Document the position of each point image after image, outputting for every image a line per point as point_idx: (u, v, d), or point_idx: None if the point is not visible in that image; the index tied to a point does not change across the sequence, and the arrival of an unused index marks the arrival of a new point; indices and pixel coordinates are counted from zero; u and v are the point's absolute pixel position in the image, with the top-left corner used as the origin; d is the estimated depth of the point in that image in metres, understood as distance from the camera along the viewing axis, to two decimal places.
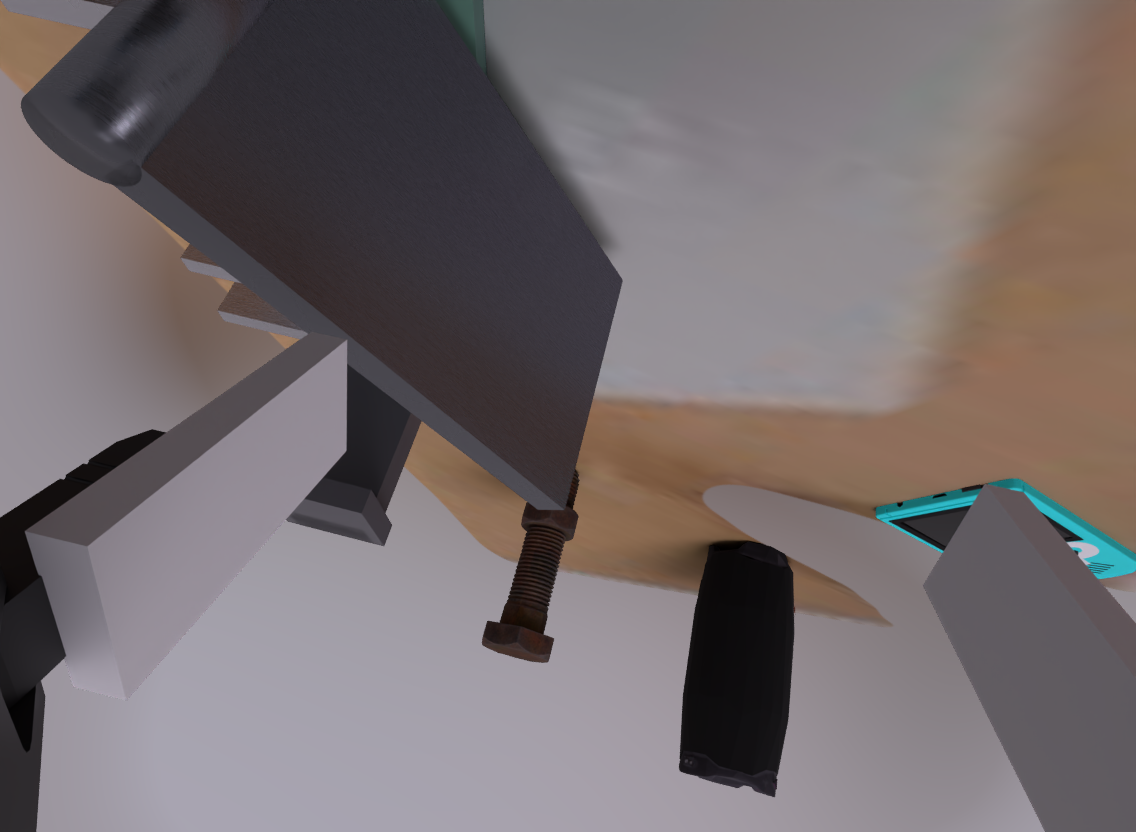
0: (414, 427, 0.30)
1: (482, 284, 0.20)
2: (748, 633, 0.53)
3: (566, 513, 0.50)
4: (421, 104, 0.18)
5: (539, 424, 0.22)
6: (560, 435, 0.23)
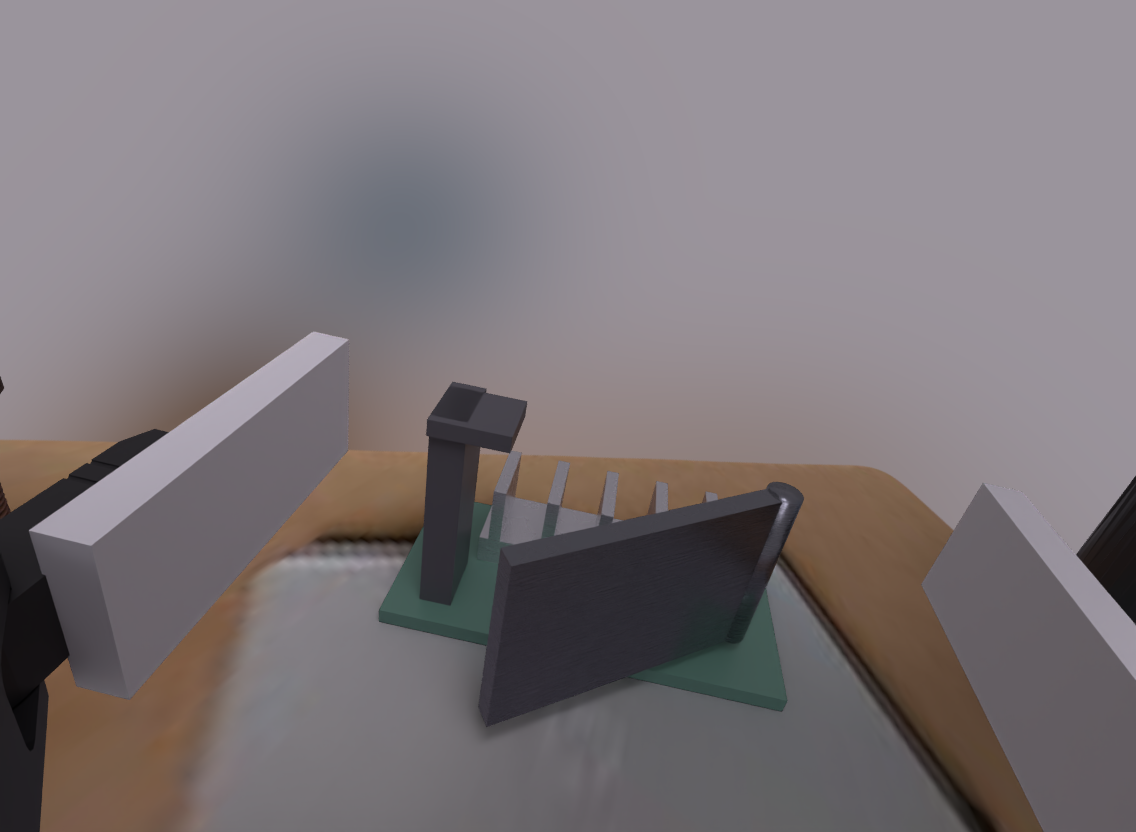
0: (436, 502, 0.36)
1: (631, 601, 0.32)
2: None
3: None
4: (686, 619, 0.36)
5: (560, 586, 0.29)
6: (533, 597, 0.28)
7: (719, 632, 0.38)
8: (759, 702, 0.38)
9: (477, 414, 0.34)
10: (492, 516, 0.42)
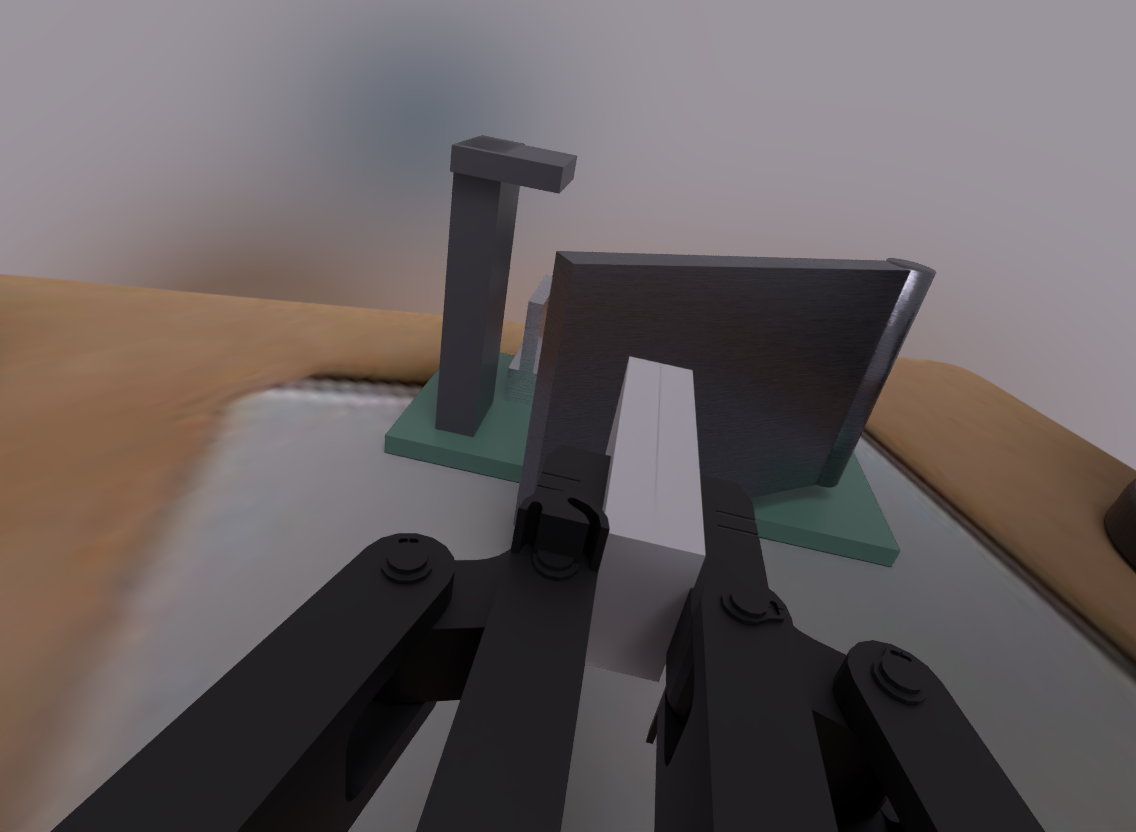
0: (460, 281, 0.28)
1: (718, 381, 0.24)
2: None
3: None
4: (778, 434, 0.28)
5: (633, 325, 0.21)
6: (599, 333, 0.21)
7: (811, 468, 0.31)
8: (863, 554, 0.30)
9: (516, 152, 0.26)
10: (525, 337, 0.34)
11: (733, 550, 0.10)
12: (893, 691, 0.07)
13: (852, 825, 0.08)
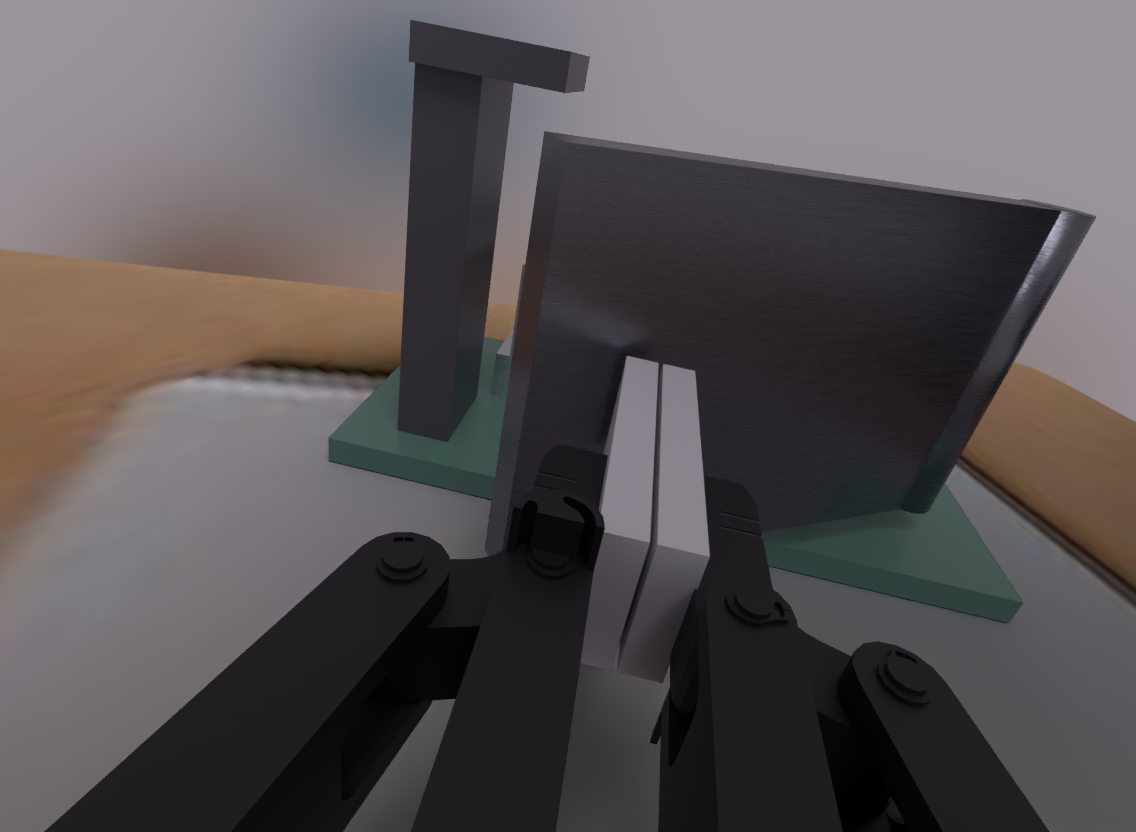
0: (427, 227, 0.20)
1: (783, 356, 0.17)
2: None
3: None
4: (857, 438, 0.20)
5: (661, 257, 0.14)
6: (608, 266, 0.13)
7: (897, 487, 0.23)
8: (971, 606, 0.22)
9: None
10: None
11: (736, 552, 0.10)
12: (899, 692, 0.07)
13: (857, 826, 0.08)
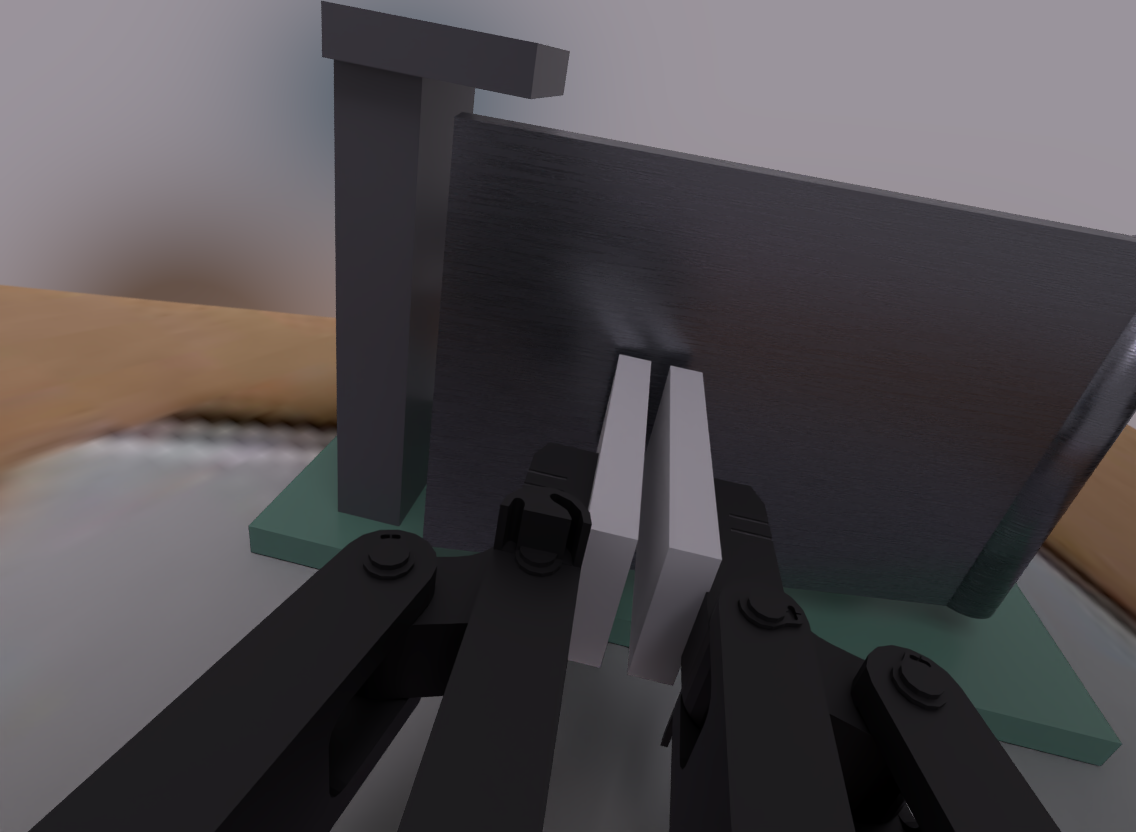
0: (361, 271, 0.16)
1: (739, 376, 0.15)
2: None
3: None
4: (863, 498, 0.17)
5: (570, 243, 0.14)
6: (510, 246, 0.14)
7: (937, 575, 0.19)
8: (1053, 745, 0.18)
9: None
10: None
11: (747, 554, 0.10)
12: (912, 695, 0.07)
13: (869, 830, 0.08)
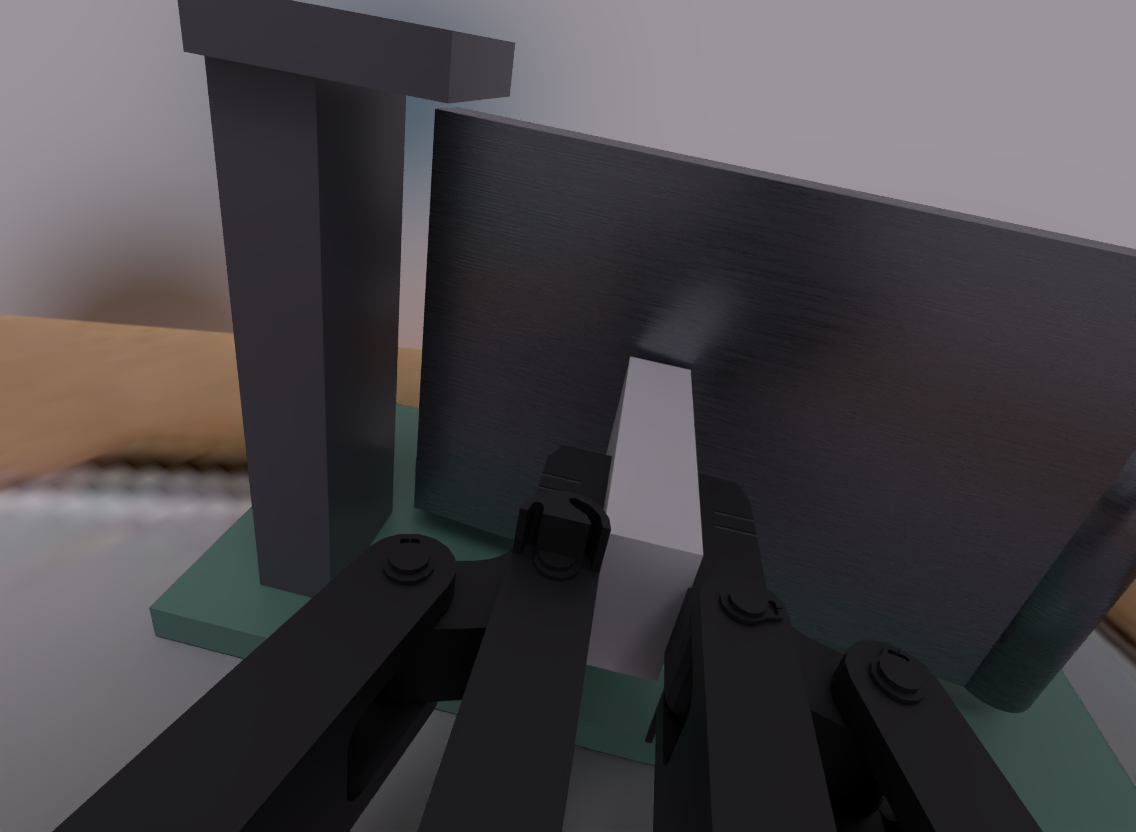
0: (261, 314, 0.13)
1: (706, 380, 0.15)
2: None
3: None
4: (852, 536, 0.15)
5: (537, 231, 0.14)
6: (484, 229, 0.15)
7: (949, 646, 0.16)
8: None
9: None
10: None
11: (731, 550, 0.10)
12: (891, 691, 0.07)
13: (850, 825, 0.08)
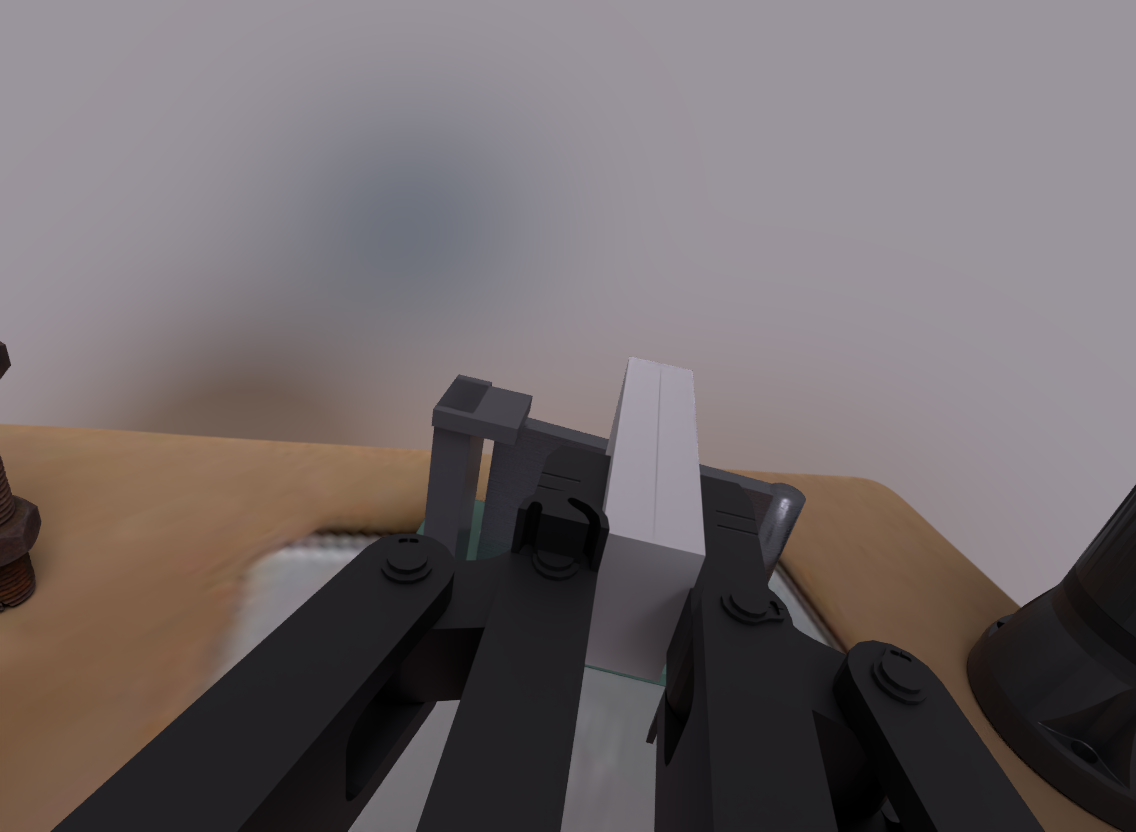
0: (439, 494, 0.36)
1: None
2: None
3: None
4: None
5: (536, 462, 0.37)
6: (514, 460, 0.37)
7: None
8: None
9: (483, 406, 0.34)
10: None
11: (733, 551, 0.10)
12: (893, 690, 0.07)
13: (852, 825, 0.08)
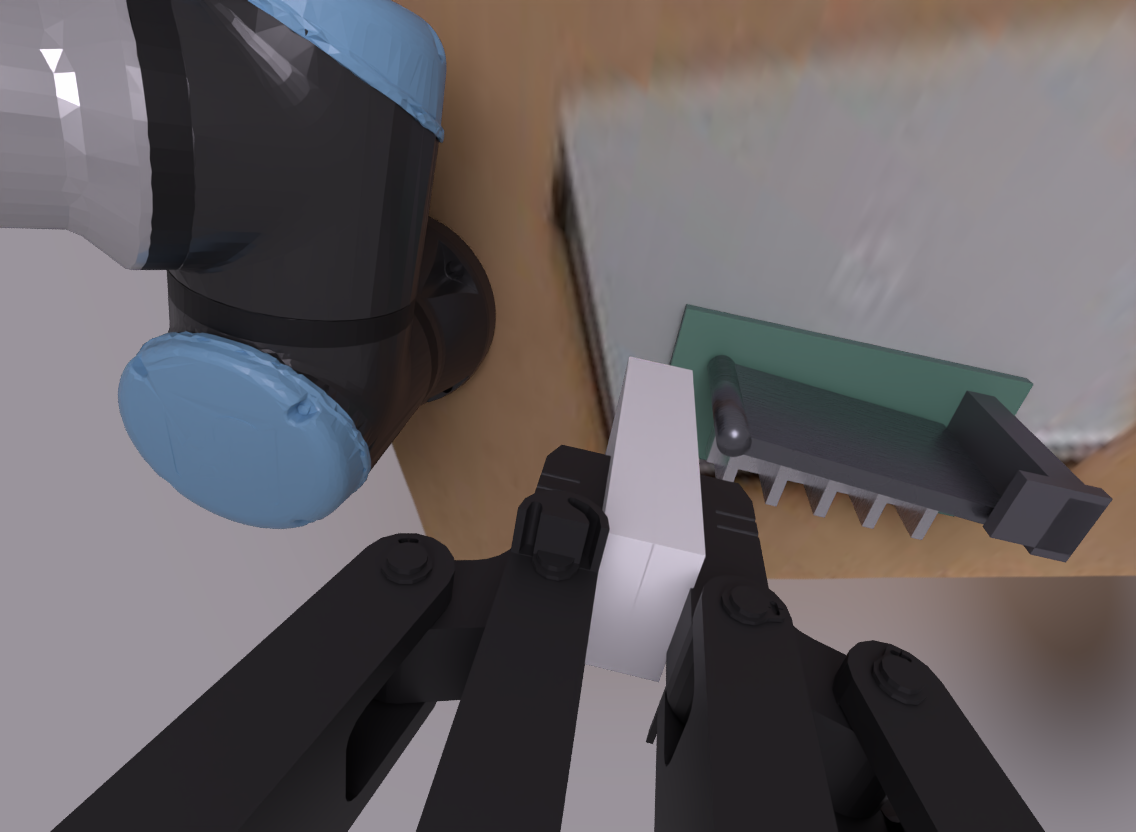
0: (1040, 450, 0.39)
1: (872, 440, 0.41)
2: None
3: None
4: (797, 400, 0.43)
5: (956, 481, 0.38)
6: (975, 485, 0.39)
7: (747, 373, 0.45)
8: (705, 309, 0.46)
9: (1054, 511, 0.34)
10: None
11: (733, 550, 0.10)
12: (893, 691, 0.07)
13: (852, 825, 0.08)
